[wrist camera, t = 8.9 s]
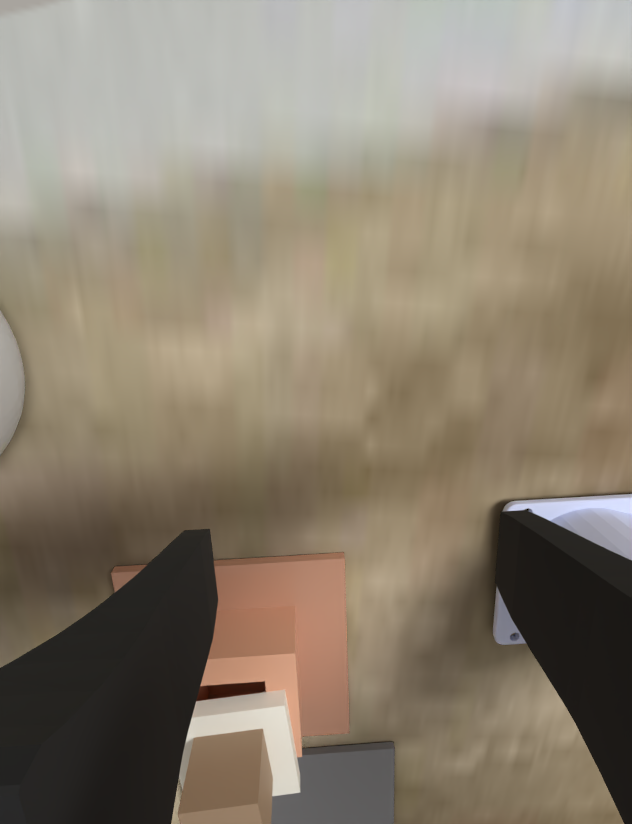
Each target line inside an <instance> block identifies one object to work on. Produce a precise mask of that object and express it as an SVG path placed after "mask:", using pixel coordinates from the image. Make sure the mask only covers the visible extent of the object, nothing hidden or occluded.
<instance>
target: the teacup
mask: <svg viewBox="0 0 632 824" xmlns="http://www.w3.org/2000/svg"><path fill="white" fill-rule="evenodd" d="M24 395H25V374H24V368H23V363H22V358H21V354H20V350H19V347H18V344H17V341H16V339H15V337H14V335H13V332H12V330H11V328H10V326H9V324H8V322H7V320H6V319H5V317H4V315H3V314H2V312H1V311H0V455H1V454H2V452H3V451H4V450H5V448H6V447H7V445H8V444H9V442H10V441H11V439H12V437H13V435H14V433H15V430H16V428H17V425H18V423H19V420H20V417H21V414H22V410H23V404H24Z"/></svg>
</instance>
